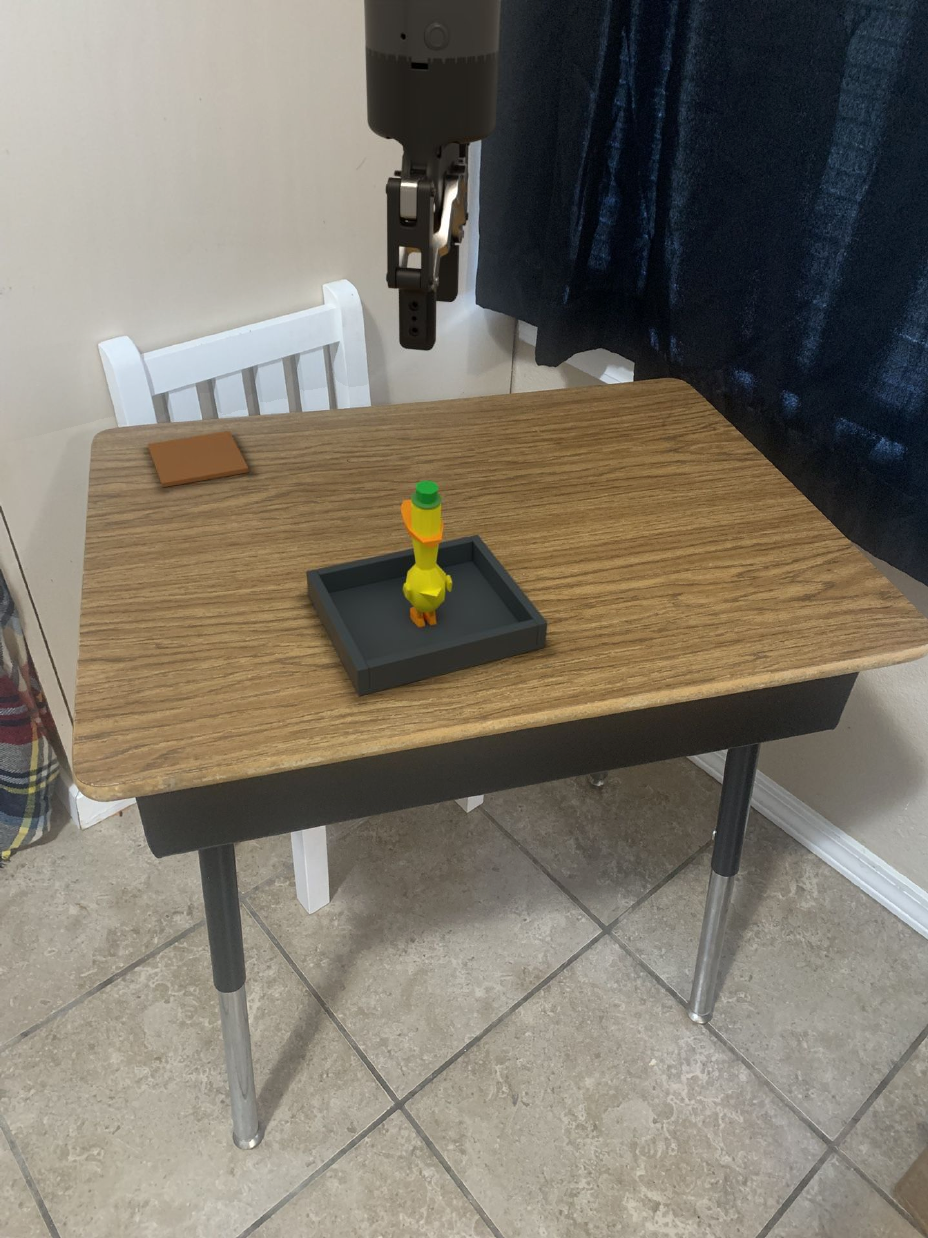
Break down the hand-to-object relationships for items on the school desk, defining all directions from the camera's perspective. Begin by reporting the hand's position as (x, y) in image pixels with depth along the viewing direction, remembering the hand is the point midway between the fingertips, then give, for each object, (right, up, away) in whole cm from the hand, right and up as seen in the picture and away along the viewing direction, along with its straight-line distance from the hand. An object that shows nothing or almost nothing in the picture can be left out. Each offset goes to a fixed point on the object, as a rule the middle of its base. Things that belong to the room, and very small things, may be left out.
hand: (430, 322), depth 65 cm
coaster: (-23, -4, +29) cm, 37 cm away
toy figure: (-1, -20, +10) cm, 22 cm away
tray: (-1, -20, +10) cm, 22 cm away
